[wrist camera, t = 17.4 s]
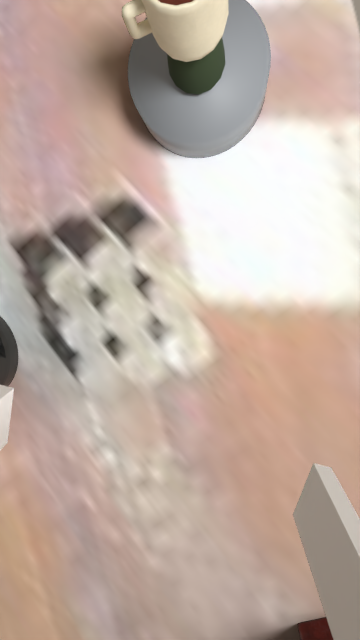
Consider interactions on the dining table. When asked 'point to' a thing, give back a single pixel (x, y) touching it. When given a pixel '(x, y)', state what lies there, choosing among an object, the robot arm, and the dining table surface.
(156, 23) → the character mug
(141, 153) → the dining table surface
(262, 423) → the dining table surface
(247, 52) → the plinth
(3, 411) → the robot arm
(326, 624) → the glass decanter
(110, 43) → the dining table surface
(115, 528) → the dining table surface
